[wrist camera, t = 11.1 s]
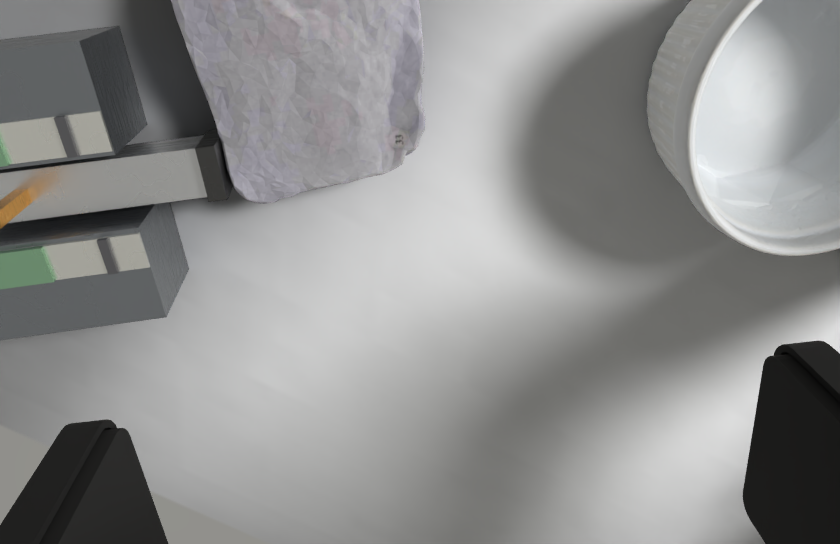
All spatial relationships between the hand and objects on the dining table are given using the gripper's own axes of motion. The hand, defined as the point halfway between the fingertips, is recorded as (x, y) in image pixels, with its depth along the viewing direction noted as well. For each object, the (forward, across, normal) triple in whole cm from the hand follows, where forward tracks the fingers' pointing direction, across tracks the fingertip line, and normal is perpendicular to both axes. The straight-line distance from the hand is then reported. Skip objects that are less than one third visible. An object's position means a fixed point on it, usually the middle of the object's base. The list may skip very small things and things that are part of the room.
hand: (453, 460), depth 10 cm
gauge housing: (+24, +17, +1) cm, 29 cm away
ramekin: (+26, -18, +1) cm, 31 cm away
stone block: (+25, +4, -3) cm, 26 cm away
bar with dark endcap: (+23, +13, +1) cm, 27 cm away
